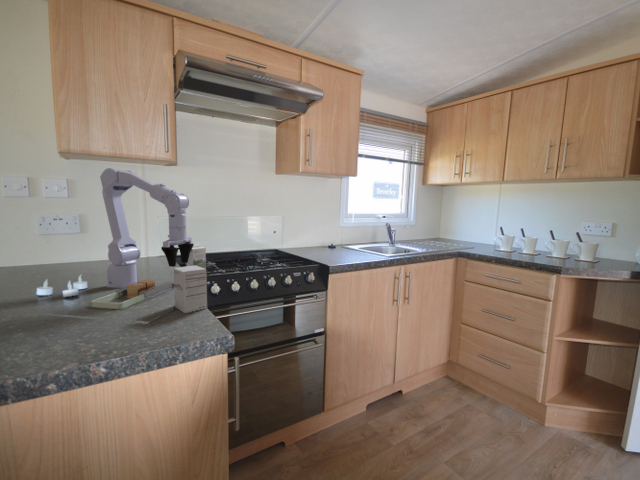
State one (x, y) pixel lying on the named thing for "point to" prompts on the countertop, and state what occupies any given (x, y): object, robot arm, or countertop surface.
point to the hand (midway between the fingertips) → (178, 264)
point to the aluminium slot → (148, 290)
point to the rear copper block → (148, 283)
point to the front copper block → (135, 289)
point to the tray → (113, 305)
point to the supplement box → (190, 288)
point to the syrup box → (197, 257)
